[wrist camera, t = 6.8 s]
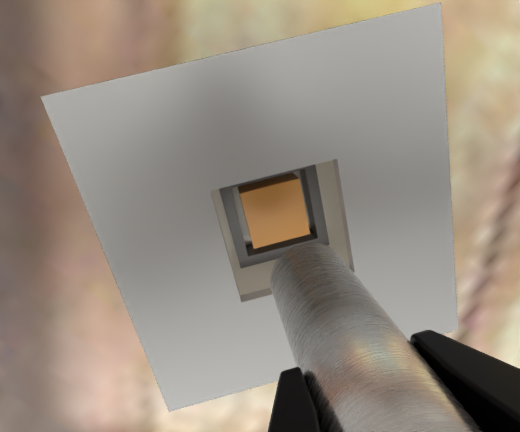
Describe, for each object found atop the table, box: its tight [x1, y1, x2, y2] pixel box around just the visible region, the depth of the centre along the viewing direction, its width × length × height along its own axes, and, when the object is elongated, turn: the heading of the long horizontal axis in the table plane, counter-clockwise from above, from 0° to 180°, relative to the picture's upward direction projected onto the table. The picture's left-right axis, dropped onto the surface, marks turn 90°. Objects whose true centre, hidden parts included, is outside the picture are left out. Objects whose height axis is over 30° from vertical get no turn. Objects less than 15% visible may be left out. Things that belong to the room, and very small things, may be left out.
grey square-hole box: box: [41, 2, 458, 412], centre depth 17 cm, size 14×14×5 cm
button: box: [238, 173, 310, 249], centre depth 18 cm, size 3×3×1 cm
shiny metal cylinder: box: [270, 243, 483, 432], centre depth 7 cm, size 2×2×10 cm
